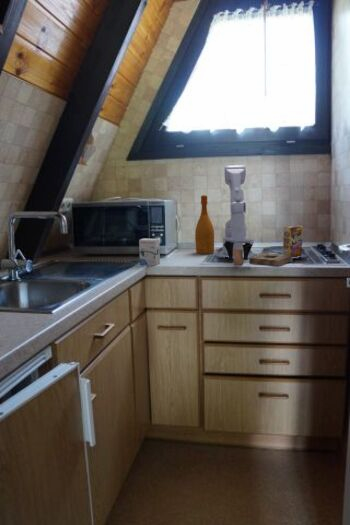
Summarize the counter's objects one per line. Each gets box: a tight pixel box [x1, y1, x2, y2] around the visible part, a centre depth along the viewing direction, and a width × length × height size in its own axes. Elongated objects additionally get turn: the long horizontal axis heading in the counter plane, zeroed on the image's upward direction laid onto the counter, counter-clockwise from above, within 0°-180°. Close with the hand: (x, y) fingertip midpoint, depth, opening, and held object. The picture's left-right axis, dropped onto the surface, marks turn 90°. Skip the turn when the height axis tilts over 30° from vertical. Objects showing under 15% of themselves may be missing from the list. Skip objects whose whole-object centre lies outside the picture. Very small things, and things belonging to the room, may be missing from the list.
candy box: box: [282, 225, 304, 258], centre depth 200 cm, size 9×4×15 cm, turn 123°
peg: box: [233, 249, 244, 266], centre depth 191 cm, size 4×4×7 cm
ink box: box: [138, 237, 161, 266], centre depth 198 cm, size 9×5×12 cm, turn 71°
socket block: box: [248, 252, 292, 267], centre depth 194 cm, size 14×14×2 cm
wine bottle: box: [194, 194, 215, 255], centre depth 221 cm, size 10×10×30 cm
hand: (238, 258), depth 191 cm, fingers open, 7 cm apart
